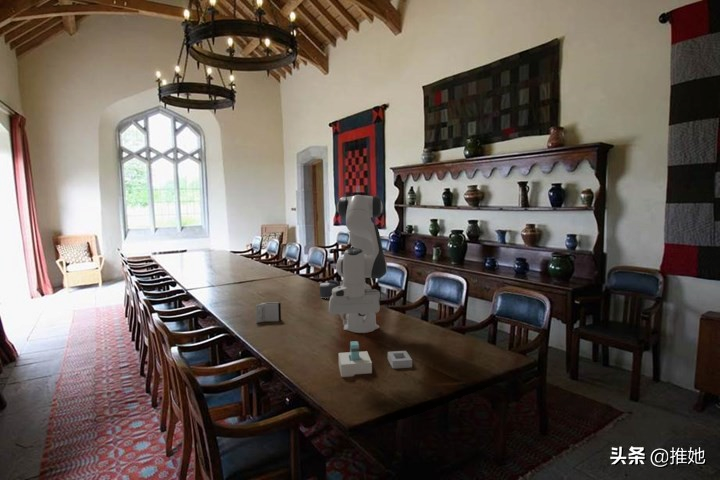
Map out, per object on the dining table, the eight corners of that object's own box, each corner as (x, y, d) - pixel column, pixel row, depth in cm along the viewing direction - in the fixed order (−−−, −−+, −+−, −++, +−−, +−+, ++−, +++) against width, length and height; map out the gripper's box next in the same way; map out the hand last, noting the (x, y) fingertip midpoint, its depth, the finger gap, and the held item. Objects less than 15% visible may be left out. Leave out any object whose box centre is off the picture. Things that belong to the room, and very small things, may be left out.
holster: (387, 360, 173) (387, 351, 172) (405, 359, 174) (405, 350, 174) (392, 370, 163) (392, 361, 163) (412, 369, 164) (412, 359, 164)
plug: (350, 365, 166) (350, 341, 165) (357, 364, 166) (357, 341, 165) (351, 369, 161) (351, 345, 160) (359, 369, 162) (359, 345, 161)
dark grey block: (316, 298, 284) (315, 282, 282) (331, 294, 292) (330, 279, 291) (325, 300, 276) (324, 285, 274) (341, 296, 284) (340, 281, 282)
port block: (338, 364, 169) (338, 352, 168) (367, 362, 171) (367, 350, 170) (341, 377, 157) (341, 364, 157) (371, 375, 159) (371, 362, 158)
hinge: (255, 323, 226) (255, 305, 225) (255, 320, 231) (255, 303, 230) (281, 321, 229) (280, 303, 228) (280, 318, 234) (280, 301, 233)
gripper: (378, 287, 165) (378, 320, 166) (328, 289, 162) (328, 322, 164) (381, 290, 159) (381, 325, 160) (329, 292, 156) (329, 327, 157)
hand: (354, 323), depth 162 cm, fingers open, 6 cm apart
